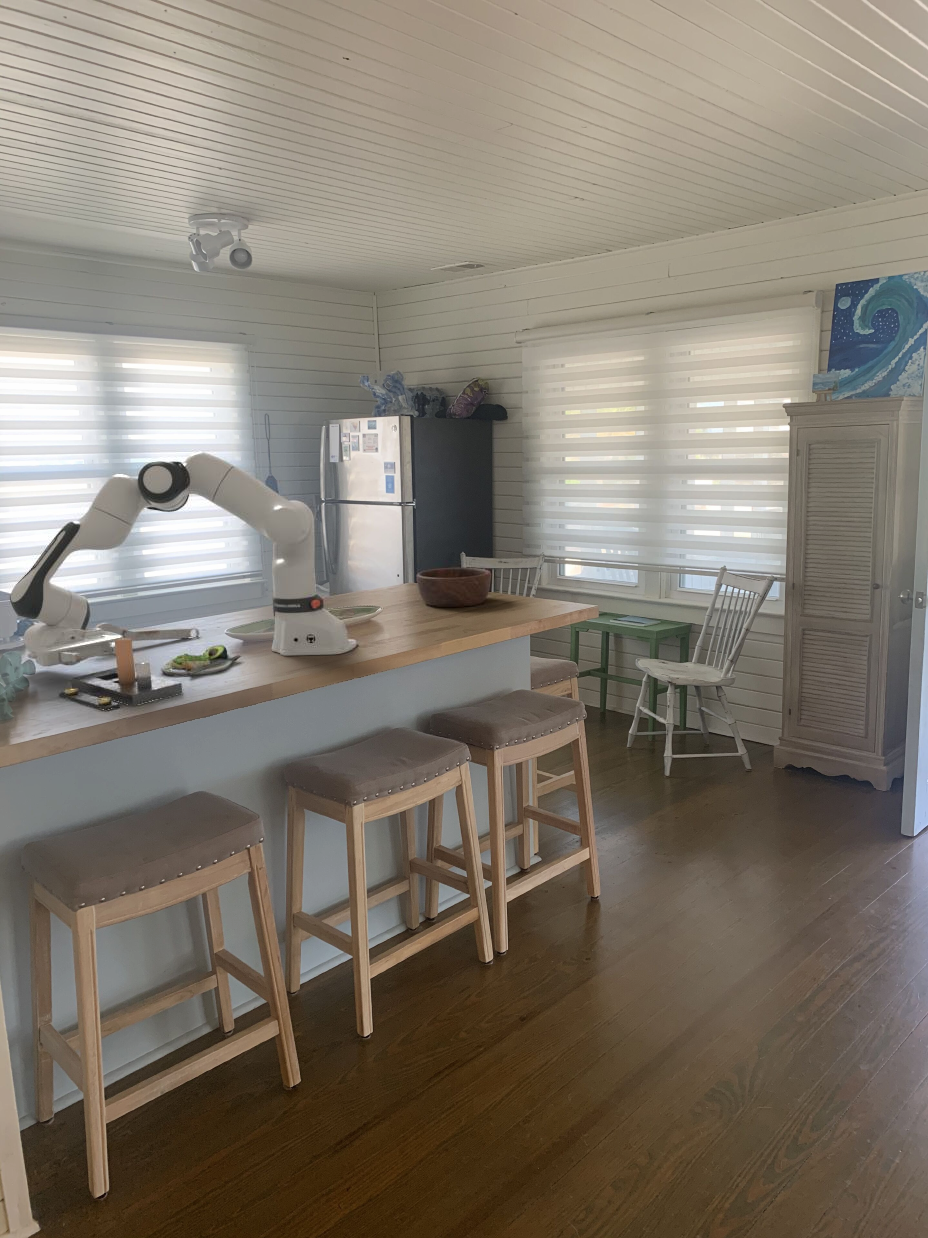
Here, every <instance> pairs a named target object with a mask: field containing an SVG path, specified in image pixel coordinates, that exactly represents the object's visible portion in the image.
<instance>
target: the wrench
mask: <svg viewBox="0 0 928 1238" xmlns="http://www.w3.org/2000/svg"><path fill="white" fill-rule="evenodd" d="M93 628H101V629H102V631H106V632H112V633H116V634H119V635H122V636H123V638H131V639H132V642H140V641H141V642H142V641H163V640H166V641H167V640H183V639H182V638H189V637H193V636H192V633H191V632H192V631H193V630H195V634H194V636H198V637H199V636H200V631H199V629H198V628H195V627H182V628H181V627H180V628H179V627H178V628H163V629H162V628H161V629H159V628H158V629H140V630H137V629H136V630H129V629H125V628H121V627H119V626H116V625H114V624H112V623H109V622H102V623H101V622H100V623H98V624H97V625H95V626H94V627H93Z"/></svg>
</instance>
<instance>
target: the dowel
mask: <svg viewBox="0 0 928 1238" xmlns="http://www.w3.org/2000/svg"><path fill="white" fill-rule="evenodd" d="M114 642H115V651H116V653H115V659H116V668H117V669H118V679H119V684H121V685H126V684H130V683H134V682H136V677H135V671H136V669H135V660H134V659H135V658H134V650H133V649H134V648H133V641H132V639H131V638H121V639H116V640H114Z"/></svg>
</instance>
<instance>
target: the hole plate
mask: <svg viewBox="0 0 928 1238" xmlns="http://www.w3.org/2000/svg"><path fill="white" fill-rule="evenodd" d="M150 663H151V662H149V661H139V662H136V663H134V667H135V677H136V682H134V683H130V684H126V685H121V684H119V679H118V669H117V667H113V668H110V669H105V670H100V671H96V672H92V673H88V674H87V673H86V674H83V675H78V676H74V677H71V678H70V684H71V685H70V686H71V687H68V688H66V689H64V691H61V692H58V697H59V696H60V698H63V699H66V698H67V699H66V700H69V699H70V701H72V700H73V702H76V703H79V702H80V703H79V704H82V703H83V705H85V704H86V705H85V706H88V705H90V706H89V707H92V706H93V707H92V708H95V707H96V708H95V709H98V708H101V709H104V710H103V711H105V710H108V709H111V708H116V709H118V708H117V707H119V708H120V703H119V702H122V703H125V704H124V705H126V704H128V705H127V706H129V705H132V706H134V707H136V706H135V705H138V704H142V703H145V702H149V701H152V700H156V699H160V698H164V699H166V698H165V697H168V698H170V697H169V696H172V697H174V696H173V695H175V696H177V695H176V694H179V695H182V694H183V685H182V682H179V681H176V680H172V679H167V678H163V677H160V676H155V675H153V674H152V673H151V664H150ZM78 690H79V691H78ZM81 691H83V692H81ZM85 692H86V693H85ZM88 693H90V694H88ZM181 693H182V694H181ZM92 694H93V695H92ZM95 695H97V696H95ZM98 696H101V697H98ZM102 697H103V698H102ZM112 700H115V701H119V702H115V701H112ZM160 700H161V699H160ZM122 703H121V704H122ZM149 703H150V702H149ZM145 704H146V703H145ZM142 705H143V704H142ZM132 706H131V707H132ZM138 706H139V705H138ZM101 709H100V710H101ZM108 711H109V710H108Z"/></svg>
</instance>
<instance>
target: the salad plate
mask: <svg viewBox="0 0 928 1238" xmlns="http://www.w3.org/2000/svg"><path fill="white" fill-rule="evenodd" d="M241 657H242V655H241V654H240V655H238V654H237V655H235V656H234V655H233V654H229V653H228V650H227V648H226V646H225V645H221V644H218V645H212V646H210V647H209V648H208V649H205V652H203V654H188V653H184V654H181V655H177V656H176V657H173V658H170V660H168V661H167V662H166V663H165V664H164V665H162V666H161V667H160V671H161V672H162V673H164V674H166V675H168V674H170V675H169V676H173V675H194V676H201V675H202V674H203V675H208V674H214V673H218V672H222V671H224V670H227V668H228V667H229V666H231V665H232V664H233V663H234V662H236V661H237V660H238V659H240V658H241ZM174 667H176V668H174ZM172 668H173V669H180V668H185V669H184V670H186V671H174V670H172V671H171V670H170V669H172Z"/></svg>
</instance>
